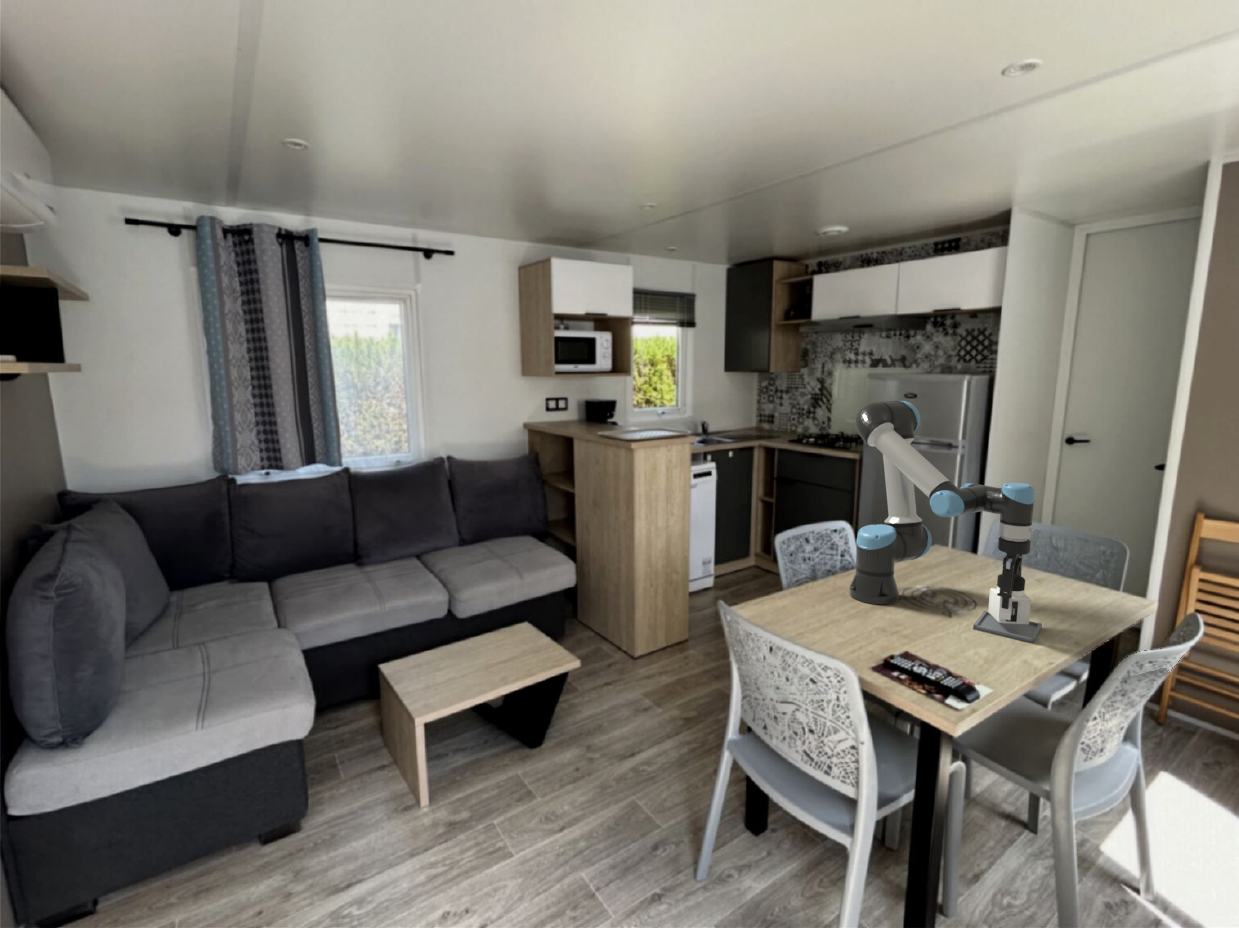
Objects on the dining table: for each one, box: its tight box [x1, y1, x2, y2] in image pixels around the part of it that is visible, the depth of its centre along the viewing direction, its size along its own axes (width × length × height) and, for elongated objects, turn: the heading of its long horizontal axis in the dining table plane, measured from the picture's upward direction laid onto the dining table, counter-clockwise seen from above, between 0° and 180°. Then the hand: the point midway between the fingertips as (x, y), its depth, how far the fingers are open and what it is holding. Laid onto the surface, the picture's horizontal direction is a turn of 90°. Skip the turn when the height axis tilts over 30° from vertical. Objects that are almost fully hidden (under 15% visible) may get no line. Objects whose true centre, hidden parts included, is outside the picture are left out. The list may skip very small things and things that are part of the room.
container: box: [987, 573, 1032, 625], centre depth 167 cm, size 8×8×13 cm
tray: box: [972, 610, 1043, 645], centre depth 169 cm, size 14×14×1 cm
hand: (1008, 612), depth 168 cm, fingers closed on container, 10 cm apart
